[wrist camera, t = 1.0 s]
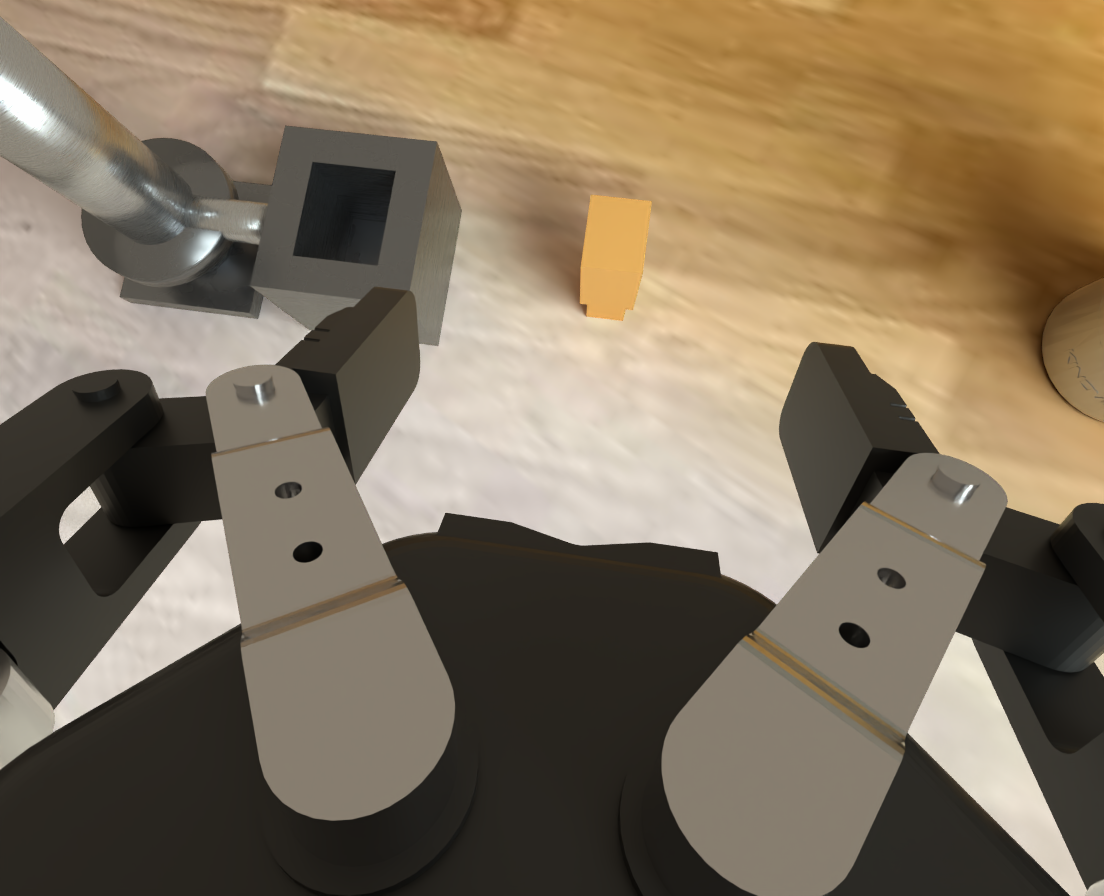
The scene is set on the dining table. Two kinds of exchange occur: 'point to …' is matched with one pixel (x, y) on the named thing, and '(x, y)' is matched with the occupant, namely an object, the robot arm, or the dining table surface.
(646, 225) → the orange block
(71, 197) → the bracket post
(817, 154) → the dining table surface
